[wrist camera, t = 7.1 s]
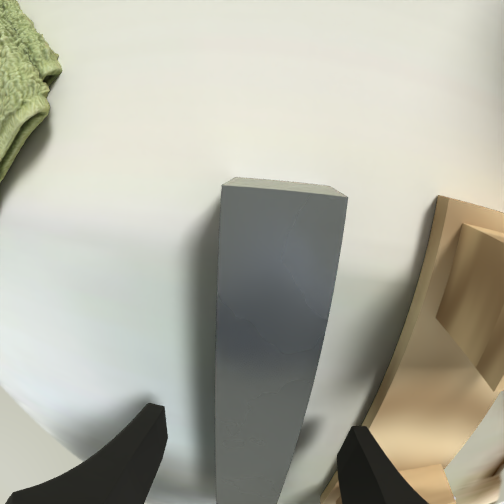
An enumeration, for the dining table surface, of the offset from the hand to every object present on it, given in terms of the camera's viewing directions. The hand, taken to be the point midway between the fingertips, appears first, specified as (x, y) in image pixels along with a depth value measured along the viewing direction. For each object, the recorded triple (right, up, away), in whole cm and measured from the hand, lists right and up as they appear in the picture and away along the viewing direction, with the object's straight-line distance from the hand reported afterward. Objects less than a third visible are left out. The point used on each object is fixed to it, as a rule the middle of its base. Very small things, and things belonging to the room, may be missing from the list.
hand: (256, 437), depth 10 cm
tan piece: (+9, 0, +2) cm, 9 cm away
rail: (0, +1, +2) cm, 3 cm away
